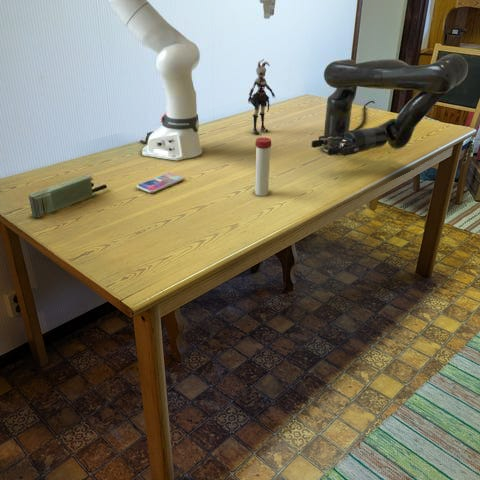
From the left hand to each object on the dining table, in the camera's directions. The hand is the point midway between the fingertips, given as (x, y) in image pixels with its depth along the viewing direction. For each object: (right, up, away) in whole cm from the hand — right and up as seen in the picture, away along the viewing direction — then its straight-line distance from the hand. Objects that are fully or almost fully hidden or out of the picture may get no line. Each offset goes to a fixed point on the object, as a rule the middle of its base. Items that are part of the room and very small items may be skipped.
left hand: (268, 16), depth 163 cm
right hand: (+16, -42, 0) cm, 45 cm away
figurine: (-1, -26, +51) cm, 58 cm away
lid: (-2, -42, -12) cm, 44 cm away
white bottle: (-2, -57, -4) cm, 57 cm away
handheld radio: (-59, -61, -12) cm, 86 cm away
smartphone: (-35, -54, +2) cm, 64 cm away
